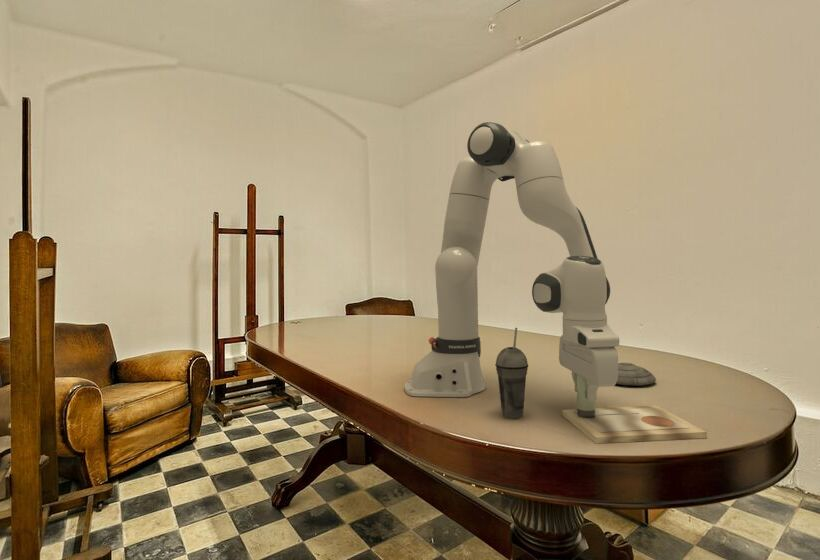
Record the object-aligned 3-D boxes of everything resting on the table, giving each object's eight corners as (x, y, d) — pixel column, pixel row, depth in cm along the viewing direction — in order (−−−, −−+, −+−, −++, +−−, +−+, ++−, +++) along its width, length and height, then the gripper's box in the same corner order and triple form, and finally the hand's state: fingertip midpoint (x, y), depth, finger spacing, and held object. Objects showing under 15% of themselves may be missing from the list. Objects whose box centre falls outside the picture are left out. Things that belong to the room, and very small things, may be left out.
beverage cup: (492, 411, 104) (490, 326, 103) (522, 409, 105) (521, 325, 104) (501, 422, 97) (499, 330, 96) (534, 420, 97) (532, 329, 97)
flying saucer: (605, 388, 121) (605, 368, 121) (592, 374, 136) (591, 357, 135) (665, 389, 118) (665, 369, 118) (644, 375, 133) (644, 357, 133)
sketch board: (595, 443, 84) (595, 435, 84) (561, 415, 100) (561, 408, 100) (706, 438, 86) (706, 430, 86) (655, 410, 102) (655, 404, 102)
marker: (581, 418, 94) (581, 366, 93) (574, 412, 97) (573, 362, 97) (598, 417, 94) (597, 365, 94) (590, 411, 98) (589, 362, 97)
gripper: (551, 325, 105) (552, 383, 106) (592, 340, 85) (593, 412, 85) (577, 324, 105) (578, 382, 106) (624, 339, 85) (624, 410, 86)
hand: (585, 396), depth 95 cm, fingers closed on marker, 4 cm apart
